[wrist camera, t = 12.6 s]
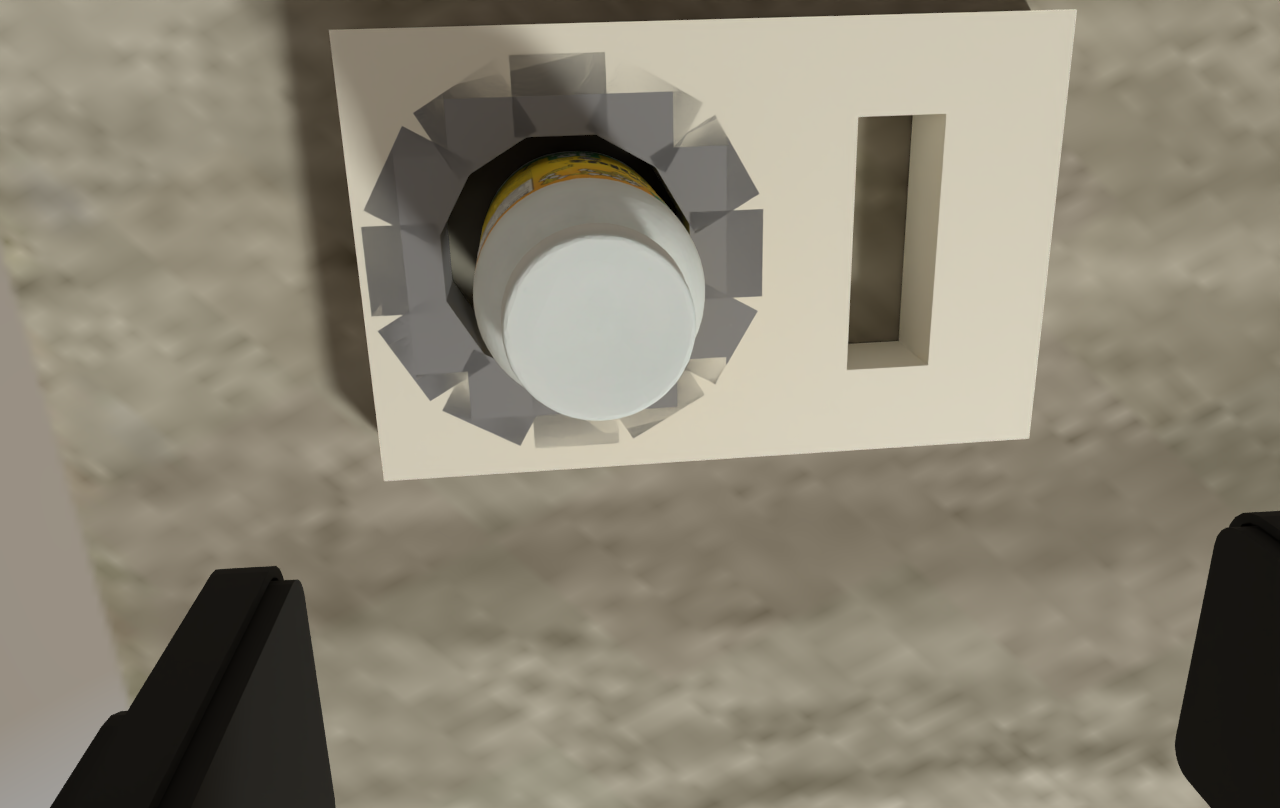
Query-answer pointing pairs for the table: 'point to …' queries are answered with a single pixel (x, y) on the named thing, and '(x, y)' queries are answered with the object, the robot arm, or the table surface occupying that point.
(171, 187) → the table surface
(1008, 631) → the table surface
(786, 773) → the table surface
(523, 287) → the supplement bottle
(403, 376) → the socket plate
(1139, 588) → the table surface
